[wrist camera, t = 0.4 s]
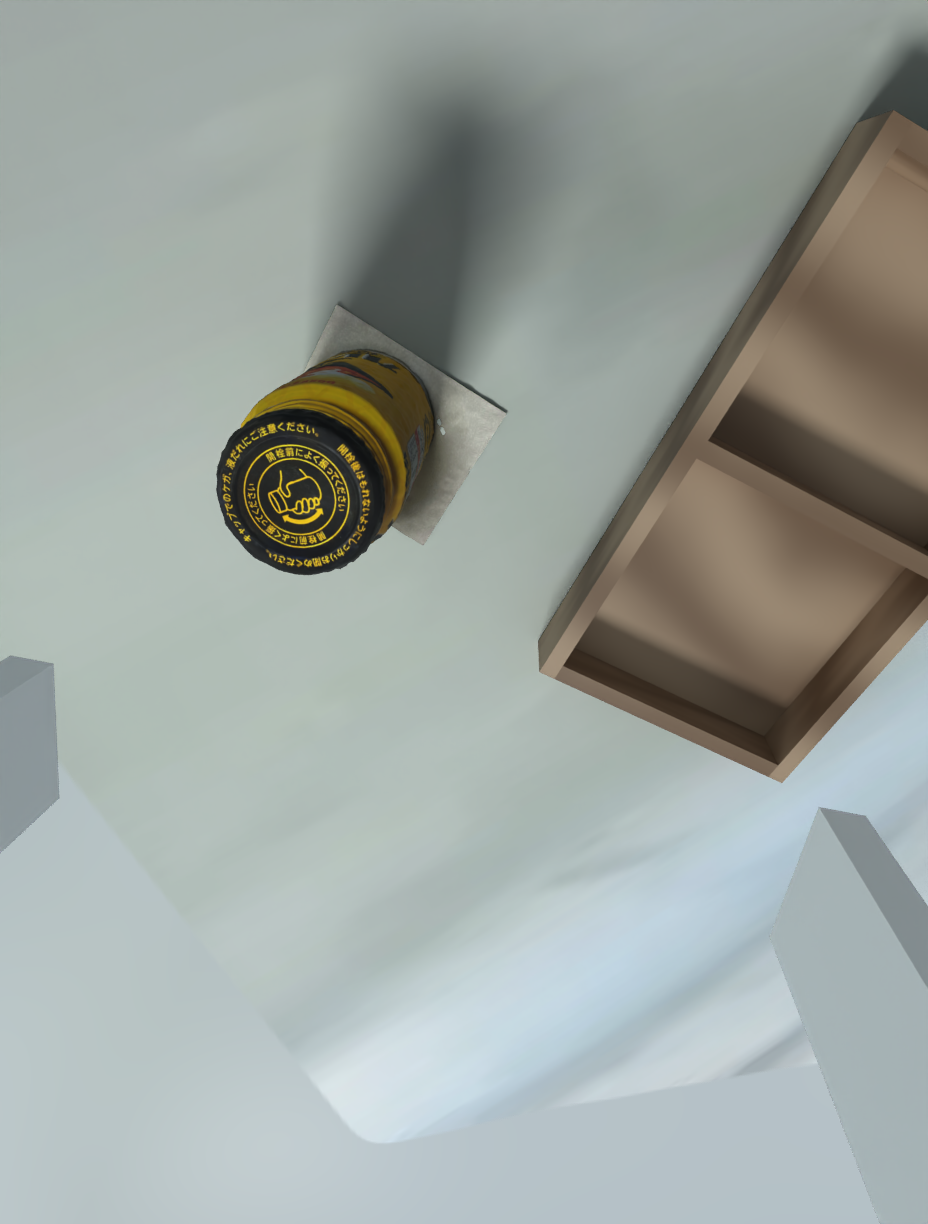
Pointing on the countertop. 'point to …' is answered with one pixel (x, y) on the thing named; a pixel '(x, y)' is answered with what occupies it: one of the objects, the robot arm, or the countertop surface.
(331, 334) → the condiment
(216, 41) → the countertop surface
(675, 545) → the caddy
